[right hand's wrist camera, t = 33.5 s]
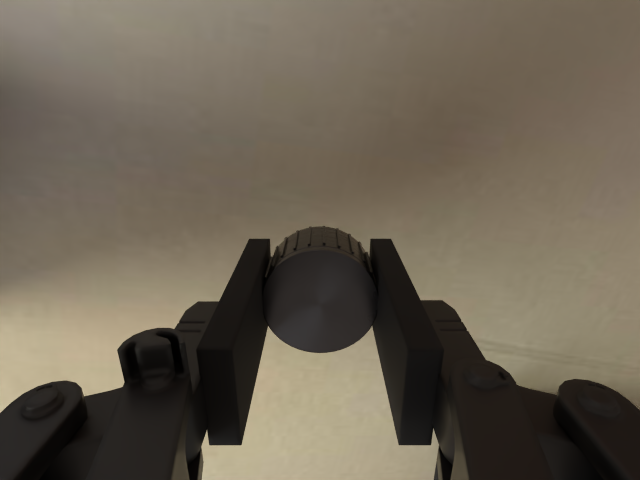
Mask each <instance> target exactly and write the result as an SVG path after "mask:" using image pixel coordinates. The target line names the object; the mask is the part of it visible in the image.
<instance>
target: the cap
mask: <svg viewBox="0 0 640 480" xmlns="http://www.w3.org/2000/svg"><path fill="white" fill-rule="evenodd" d="M264 279H266V280H265V283H264V286H263V290H262V302H263V315H264V318H265V320H266V323H267V324H268V326H269V327H270V329H271V330H272V331H273V333H274V334H275V335H276V336H277V337H278V338H279V339H281V340H282V341H283V342H285V343H286V344H288V345H290V346H292V347H294V348H297V349H299V350H303V351H307V352H314V353H327V352H334V351H338V350H341V349H344V348H346V347H348V346H350V345H352V344H354V343H355V342H357V341H358V340H360V339H361V338H362V337H363V336H364V335H365V334H366V333H367V332H368V331H369V329H370V328H371V326H372V325H373V323H374V321H375V319H376V316H377V308H378V290H377V284H376V280H375V277H374V272H373V269H372V265H371V262H370V258H369V255H368V252H365V250H364V249H363V247H362V246H361V243H360V242H358V241H356V240H355V239H354V238H353V237H352V236H351V234H347V233H345V232H343V231H340V230H339V229H338V228H336V229H334V228H329V227H325V226H323V227H309V228H306V229H303V230H300V231H298V230H297V231H296V233H294V234H292V235H290V236H289V237H288V238H287V237H286V238H285V240H284V241H283V242H282V243H281V244H280V245H279V246H277V247H276V249H275V253H274V255H273V257H271V258H270V261H269V264H268V267H267V270H266V274H265V277H264Z"/></svg>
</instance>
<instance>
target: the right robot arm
mask: <svg viewBox="0 0 640 480" xmlns="http://www.w3.org/2000/svg"><path fill="white" fill-rule="evenodd" d="M270 258H271V253H270V239H249V241H248V243H247V245H246V247H245V249H244V251H243V253H242V255H241V257H240V259H239V261H238V264H237V266H236V268H235V270H234V272H233V274H232V276H231V278H230V280H229V282H228V284H227V286H226V289H225V291H224V293H223V295H222V297H221V299H220V301H219V302H197V303H196V304H194V305H193V306H192V307H190V308H189V309H187V310H186V311H185V313H184V314H183V316H182V318H181V319H180V321H179V323H178V324H177V326H176V328H175V329H171V328H155V329H150V330H145V331H143V332H141V333H138V334H136V335H133V336H132V337H130V338H129V339H127V340H126V341H124V342H123V343H122V345H121V346H120V347H119V348H118V350H117V351H118V355H119V359H120V364H121V368H122V372H123V377H124V381H125V383H124V385H123V387H121V388H118V389H115V390H111V391H107V392H102V393H98V394H93V395H89V396H84V395H83V392H82V388H81V387H80V386H79V385H78V384H77V383H75V382H70V381H57V382H51V383H47V384H44V385H41V386H38V387H36V388H34V389H32V390H30V391H28V392H26V393H24V394H22V395H21V396H20V397H18V398H17V399H16V400H14V401H13V402H12V403H11V404H9V405H8V406H7V407H6V408H5V409H4V410H3V411H2V412H1V413H0V480H202V471H203V456H202V449H201V446H202V443H203V440H204V437H205V434H206V431H208V438H209V445H242V440H243V436H244V431H245V427H246V422H247V418H248V413H249V409H250V404H251V400H252V395H253V391H254V386H255V382H256V377H257V373H258V368H259V364H260V359H261V355H262V350H263V346H264V341H265V337H266V332H267V328H268V324H267V323H266V320H265V318H264V315H263V302H262V290H263V286H264V283H265V280H266V279H264V277H265V274H266V270H267V267H268V264H269V261H270ZM370 262H371V265H372V269H373V272H374V277H375V280H376V284H377V290H378V308H377V316H376V319H375V321H374V323H373V325H372V327H373V331H374V336H375V340H376V345H377V349H378V354H379V358H380V363H381V367H382V372H383V376H384V381H385V385H386V390H387V394H388V398H389V403H390V407H391V412H392V416H393V421H394V425H395V430H396V434H397V439H398V443H399V445H431V440H432V433H433V428H434V431H435V434H436V437H437V440H438V443H439V449H438V456H437V462H436V469H435V475H434V480H640V410H639V409H638V408H637V407H635V406H634V405H633V404H632V403H631V402H630V401H629V400H628V399H626V398H625V397H623V396H622V395H621V394H619V393H618V392H616V391H614V390H612V389H610V388H608V387H606V386H604V385H602V384H599V383H595V382H592V381H589V380H580V379H573V380H568V381H565V382H563V383H562V384H561V385H560V386H559V390H558V393H557V395H554V394H550V393H545V392H541V391H536V390H532V389H528V388H524V387H521V386H518V385H516V382H515V381H514V379H513V378H512V376H511V375H510V373H508V372H507V371H506V370H504V369H503V368H502V367H501V366H499V365H497V364H494V363H492V362H490V361H487V360H486V359H485V358H484V356H483V355H482V353H481V351H480V350H479V348H478V346H477V345H476V343H475V342H474V340H473V338H472V337H471V335H470V334H469V332H468V331H467V329H466V327H465V325H464V324H463V322H461V319H460V317H459V316H458V314H457V312H456V311H455V309H453V308H452V307H451V306H449V305H448V304H446V303H445V302H444V301H442V300H420V298H419V296H418V294H417V292H416V290H415V288H414V286H413V284H412V282H411V280H410V278H409V275H408V273H407V271H406V269H405V267H404V265H403V263H402V261H401V259H400V257H399V255H398V253H397V251H396V248H395V246H394V244H393V242H392V240H391V239H370Z"/></svg>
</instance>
